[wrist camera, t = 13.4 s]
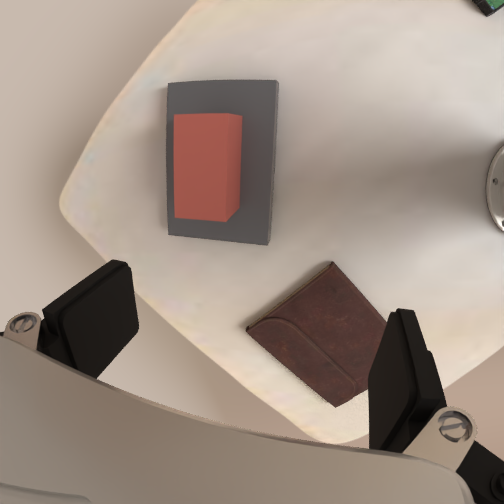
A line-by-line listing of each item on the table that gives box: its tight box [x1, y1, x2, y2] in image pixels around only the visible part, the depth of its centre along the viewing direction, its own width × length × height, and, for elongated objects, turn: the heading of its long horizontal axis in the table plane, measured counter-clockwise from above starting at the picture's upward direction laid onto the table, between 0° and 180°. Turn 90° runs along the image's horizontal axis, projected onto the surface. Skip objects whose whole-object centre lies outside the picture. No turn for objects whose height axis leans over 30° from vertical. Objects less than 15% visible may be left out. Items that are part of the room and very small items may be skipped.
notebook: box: [246, 261, 387, 408], centre depth 41 cm, size 15×20×2 cm
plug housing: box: [174, 113, 242, 222], centre depth 30 cm, size 5×10×6 cm, turn 178°
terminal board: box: [166, 80, 279, 245], centre depth 32 cm, size 12×18×6 cm, turn 177°
